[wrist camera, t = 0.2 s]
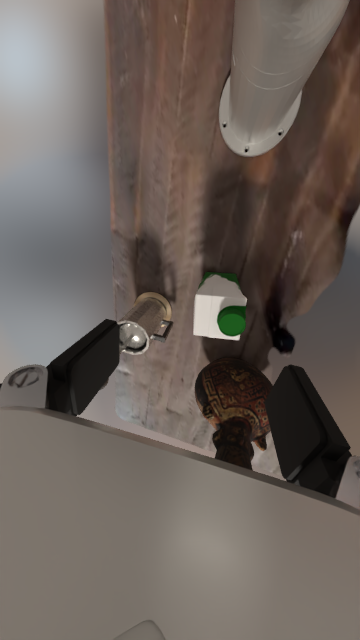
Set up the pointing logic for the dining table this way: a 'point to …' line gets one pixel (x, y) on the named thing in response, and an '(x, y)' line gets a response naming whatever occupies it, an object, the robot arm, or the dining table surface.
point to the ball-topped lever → (130, 339)
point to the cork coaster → (160, 297)
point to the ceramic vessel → (234, 408)
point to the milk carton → (219, 307)
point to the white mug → (147, 322)
